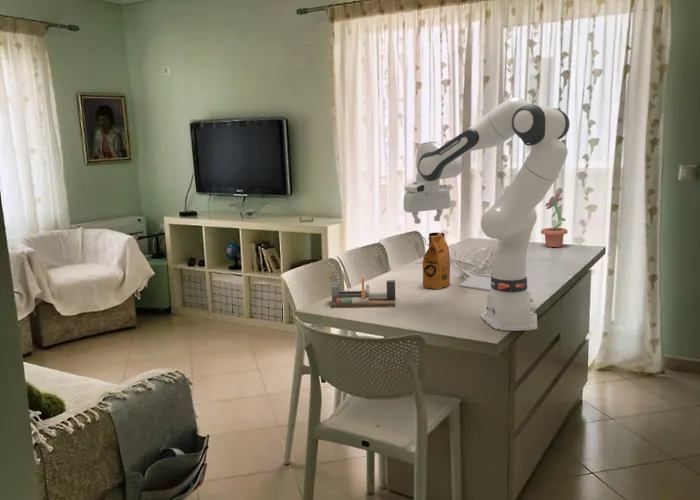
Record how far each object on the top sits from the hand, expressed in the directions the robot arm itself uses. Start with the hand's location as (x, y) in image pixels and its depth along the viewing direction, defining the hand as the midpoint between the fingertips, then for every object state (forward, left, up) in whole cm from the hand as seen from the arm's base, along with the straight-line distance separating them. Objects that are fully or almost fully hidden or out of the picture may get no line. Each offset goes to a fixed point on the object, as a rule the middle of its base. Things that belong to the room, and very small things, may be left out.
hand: (427, 222), depth 231 cm
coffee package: (+20, -4, -30) cm, 36 cm away
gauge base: (-4, +25, -30) cm, 39 cm away
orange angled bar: (-9, +25, -27) cm, 37 cm away
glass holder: (+66, -4, -30) cm, 73 cm away
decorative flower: (+105, -73, -30) cm, 131 cm away
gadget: (+23, -26, -31) cm, 47 cm away
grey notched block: (-6, +19, -29) cm, 35 cm away
